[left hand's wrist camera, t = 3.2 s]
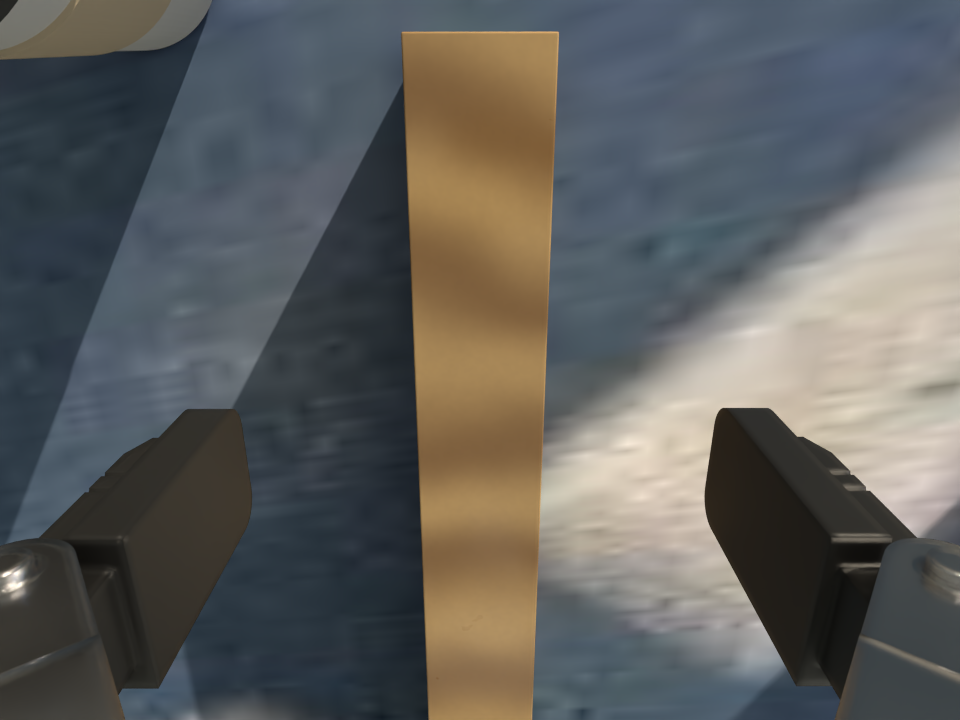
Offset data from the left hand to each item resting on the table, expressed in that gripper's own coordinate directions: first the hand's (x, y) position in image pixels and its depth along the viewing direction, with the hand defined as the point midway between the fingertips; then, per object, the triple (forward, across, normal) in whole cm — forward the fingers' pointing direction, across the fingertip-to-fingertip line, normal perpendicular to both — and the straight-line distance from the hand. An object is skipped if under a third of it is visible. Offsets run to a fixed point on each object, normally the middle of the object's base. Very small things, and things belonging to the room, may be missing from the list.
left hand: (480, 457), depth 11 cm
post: (+20, 0, -19) cm, 27 cm away
